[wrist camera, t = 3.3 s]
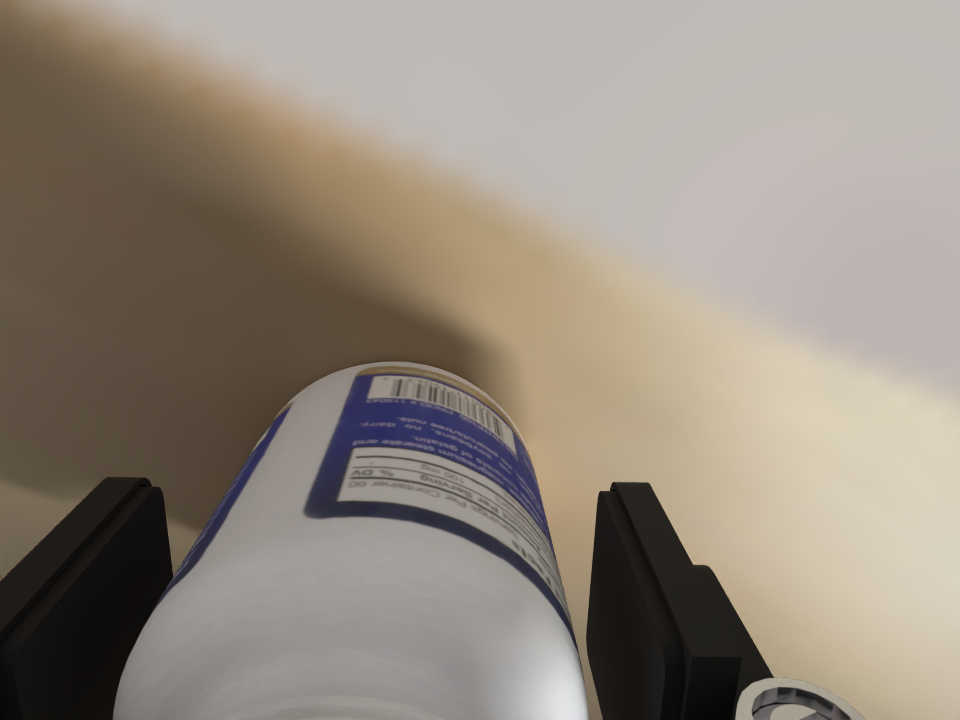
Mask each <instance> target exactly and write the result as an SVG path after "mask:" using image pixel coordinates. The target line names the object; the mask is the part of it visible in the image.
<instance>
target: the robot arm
mask: <svg viewBox="0 0 960 720" xmlns="http://www.w3.org/2000/svg"><path fill="white" fill-rule="evenodd" d="M172 579H173V571H172V563H171V555H170V546H169V538H168V530H167V522H166V514H165V506H164V497H163V493H162V491H161V489H160V488H159V487H152V485H151V483H150V481H149V480H148V479H147V478H134V477H107V478H106V479H104V480H103V481H102V482H101V483H100V484H99V485H98V486H97V487H96V488H95V489H94V490H93V491H92V492H90V493H89V494H88V495H87V496H86V497H85V498H84V499H83V500H82V501H81V502H80V503H79V504H78V505H77V506H76V507H75V508H74V509H73V510H72V511H71V512H70V513H69V514H68V515H67V516H66V517H65V518H64V519H63V520H62V521H61V522H60V523H59V524H58V525H57V526H56V527H55V528H54V529H53V530H52V531H51V532H50V533H49V534H48V535H47V536H46V537H45V538H44V539H43V540H42V541H41V542H40V543H39V544H38V545H37V546H36V547H35V548H34V549H33V550H32V551H31V552H30V553H29V554H28V555H27V556H26V557H25V558H23V559H22V560H21V561H20V562H19V563H18V564H17V565H16V566H15V567H14V568H13V569H12V570H11V571H10V572H9V573H8V574H7V575H6V576H5V577H4V578H3V579H2V580H1V581H0V720H113V712H114V706H115V700H116V695H117V690H118V686H119V683H120V679H121V676H122V673H123V670H124V668H125V665H126V662H127V660H128V657H129V655H130V653H131V651H132V649H133V647H134V645H135V643H136V641H137V639H138V637H139V635H140V633H141V631H142V629H143V627H144V626H145V624H146V622H147V620H148V618H149V617H150V615H151V613H152V611H153V609H154V608H155V606H156V604H157V602H158V600H159V599H160V597H161V596H162V594H163V593H164V591H165V590H166V588H167V586H168V585H169V583H170V582H171V580H172ZM586 643H587V654H588V659H589V664H590V668H591V672H592V676H593V680H594V684H595V688H596V692H597V696H598V701H599V705H600V709H601V713H602V717H603V720H865V719H864V717H863V716H862V715H861V714H860V713H859V712H858V711H857V710H855V709H854V708H853V707H852V706H851V705H850V704H849V703H847V702H846V701H845V700H843V699H842V698H840V697H838V696H837V695H835V694H833V693H831V692H830V691H828V690H826V689H824V688H821V687H819V686H816V685H813V684H811V683H808V682H805V681H800V680H795V679H790V678H774V677H773V675H772V673H771V672H770V670H769V668H768V666H767V665H766V663H765V661H764V659H763V658H762V656H761V654H760V652H759V651H758V649H757V647H756V645H755V644H754V642H753V640H752V638H751V637H750V635H749V633H748V631H747V630H746V628H745V626H744V625H743V623H742V621H741V619H740V618H739V616H738V614H737V612H736V611H735V609H734V607H733V605H732V604H731V602H730V600H729V598H728V597H727V595H726V593H725V591H724V590H723V588H722V586H721V584H720V583H719V581H718V579H717V577H716V576H715V574H714V572H713V571H712V570H711V568H710V567H709V566H706V565H693V564H692V562H691V560H690V558H689V556H688V555H687V553H686V551H685V549H684V547H683V545H682V543H681V541H680V540H679V538H678V536H677V534H676V532H675V530H674V528H673V527H672V525H671V523H670V521H669V519H668V517H667V515H666V513H665V512H664V510H663V508H662V506H661V504H660V502H659V500H658V498H657V497H656V495H655V493H654V491H653V489H652V487H651V485H650V484H649V483H639V482H613V483H612V484H611V488H610V491H600V492H599V495H598V502H597V513H596V525H595V537H594V549H593V561H592V573H591V585H590V597H589V609H588V621H587V634H586Z"/></svg>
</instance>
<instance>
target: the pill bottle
mask: <svg viewBox="0 0 960 720" xmlns="http://www.w3.org/2000/svg"><path fill="white" fill-rule="evenodd" d="M113 720H589V715H588V707H587V699H586V691H585V685H584V677H583V672H582V667H581V662H580V657H579V653H578V647H577V644H576V640H575V636H574V631H573V628H572V623H571V618H570V614H569V611H568V607H567V602H566V598H565V593H564V588H563V585H562V581H561V577H560V573H559V569H558V565H557V561H556V557H555V553H554V548H553V544H552V540H551V536H550V532H549V528H548V524H547V520H546V516H545V512H544V508H543V503H542V499H541V495H540V491H539V487H538V483H537V479H536V475H535V471H534V467H533V464H532V461H531V458H530V455H529V453H528V450H527V447H526V444H525V442H524V440H523V438H522V436H521V434H520V432H519V431H518V429H517V427H516V426H515V424H514V423H513V421H512V420H511V419H510V417H509V416H508V415H507V413H506V412H505V411H504V410H503V409H502V408H501V407H500V406H499V405H498V404H497V403H496V402H495V401H494V400H493V399H492V398H491V397H490V396H489V395H487V394H486V393H485V392H484V391H482V390H481V389H479V388H478V387H477V386H475V385H473V384H472V383H470V382H468V381H467V380H465V379H463V378H461V377H459V376H457V375H455V374H452V373H450V372H447V371H445V370H442V369H439V368H436V367H432V366H428V365H423V364H417V363H411V362H376V363H369V364H363V365H358V366H354V367H349V368H346V369H343V370H339V371H337V372H334V373H332V374H329V375H327V376H325V377H323V378H321V379H319V380H317V381H316V382H314V383H312V384H311V385H309V386H308V387H306V388H305V389H303V390H302V391H301V392H300V393H298V394H297V395H296V396H294V397H293V398H292V399H291V400H290V401H289V402H288V403H287V404H286V405H285V406H284V407H283V408H282V409H281V411H280V412H279V413H278V414H277V415H276V417H275V418H274V420H273V421H272V422H271V424H270V425H269V426H268V428H267V429H266V430H265V432H264V433H263V435H262V437H261V438H260V440H259V441H258V443H257V444H256V446H255V447H254V449H253V451H252V452H251V454H250V456H249V457H248V459H247V461H246V462H245V464H244V465H243V467H242V469H241V470H240V472H239V473H238V475H237V476H236V478H235V479H234V481H233V483H232V484H231V486H230V488H229V489H228V491H227V493H226V494H225V496H224V498H223V499H222V501H221V502H220V504H219V505H218V507H217V508H216V510H215V511H214V513H213V515H212V516H211V518H210V519H209V521H208V523H207V524H206V526H205V528H204V529H203V531H202V532H201V534H200V536H199V537H198V539H197V540H196V542H195V543H194V545H193V547H192V548H191V550H190V551H189V553H188V555H187V556H186V558H185V560H184V561H183V563H182V565H181V566H180V568H179V569H178V571H177V572H176V574H175V575H174V577H173V579H172V580H171V582H170V583H169V585H168V586H167V588H166V590H165V591H164V593H163V594H162V596H161V597H160V599H159V600H158V602H157V604H156V606H155V608H154V609H153V611H152V613H151V615H150V617H149V618H148V620H147V622H146V624H145V626H144V627H143V629H142V631H141V633H140V635H139V637H138V639H137V641H136V643H135V645H134V647H133V649H132V651H131V653H130V655H129V657H128V660H127V662H126V665H125V668H124V670H123V673H122V676H121V679H120V683H119V686H118V690H117V695H116V700H115V706H114V712H113Z"/></svg>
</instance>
